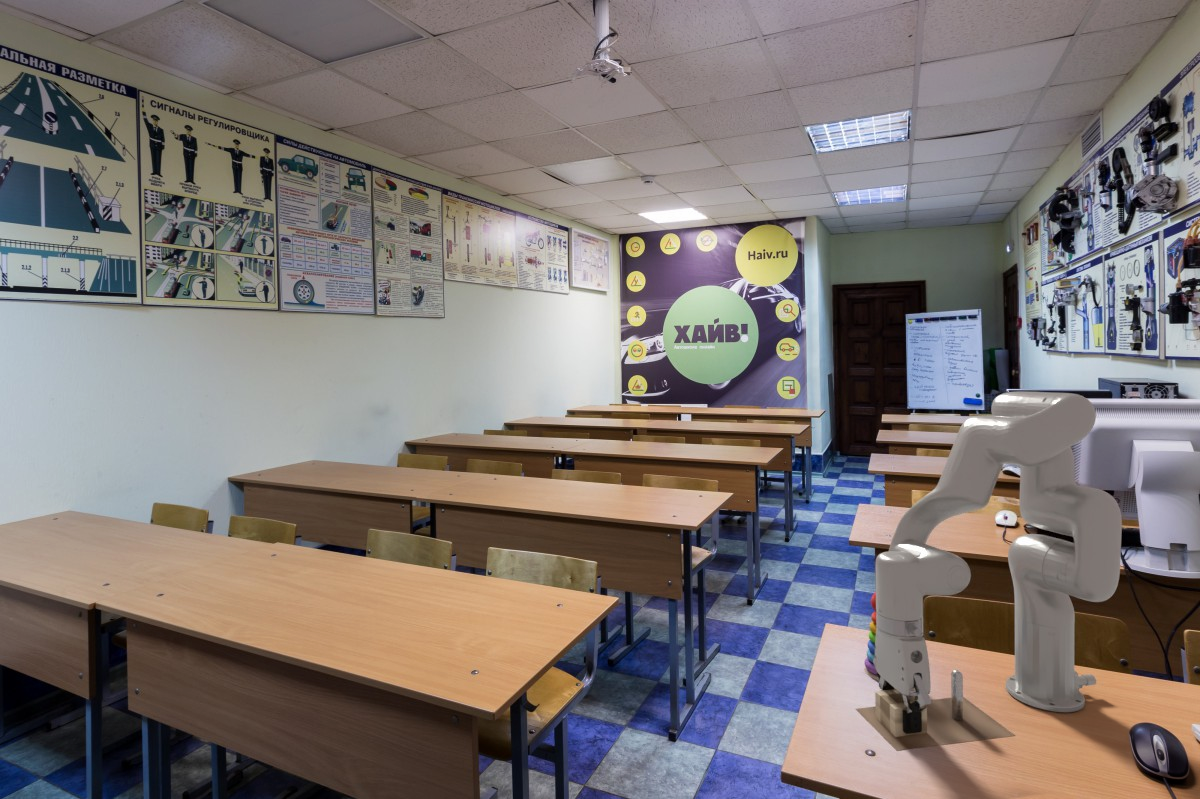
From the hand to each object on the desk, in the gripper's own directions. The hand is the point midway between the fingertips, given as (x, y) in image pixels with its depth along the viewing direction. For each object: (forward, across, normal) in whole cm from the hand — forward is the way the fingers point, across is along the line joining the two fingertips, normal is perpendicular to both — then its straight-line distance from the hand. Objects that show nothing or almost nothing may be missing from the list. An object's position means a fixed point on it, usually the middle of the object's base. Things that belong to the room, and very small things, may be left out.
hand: (900, 720), depth 112 cm
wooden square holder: (+1, 0, 0) cm, 1 cm away
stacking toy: (+3, +18, -8) cm, 20 cm away
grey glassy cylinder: (+1, 0, -11) cm, 11 cm away
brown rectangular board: (+2, 0, -6) cm, 6 cm away
